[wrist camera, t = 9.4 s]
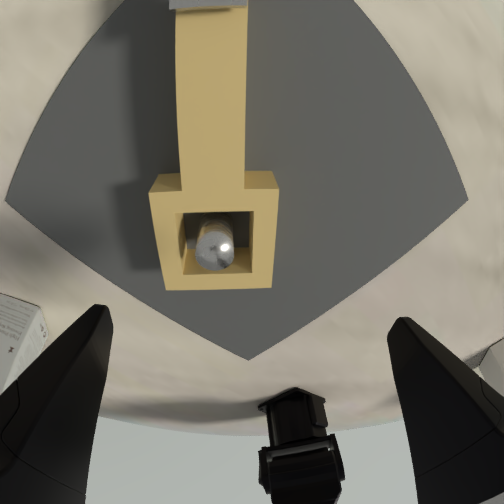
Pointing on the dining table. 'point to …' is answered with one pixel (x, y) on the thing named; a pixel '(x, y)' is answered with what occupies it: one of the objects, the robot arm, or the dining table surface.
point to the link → (213, 156)
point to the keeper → (205, 4)
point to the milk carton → (494, 367)
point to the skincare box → (19, 337)
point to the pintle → (215, 241)
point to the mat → (256, 159)
